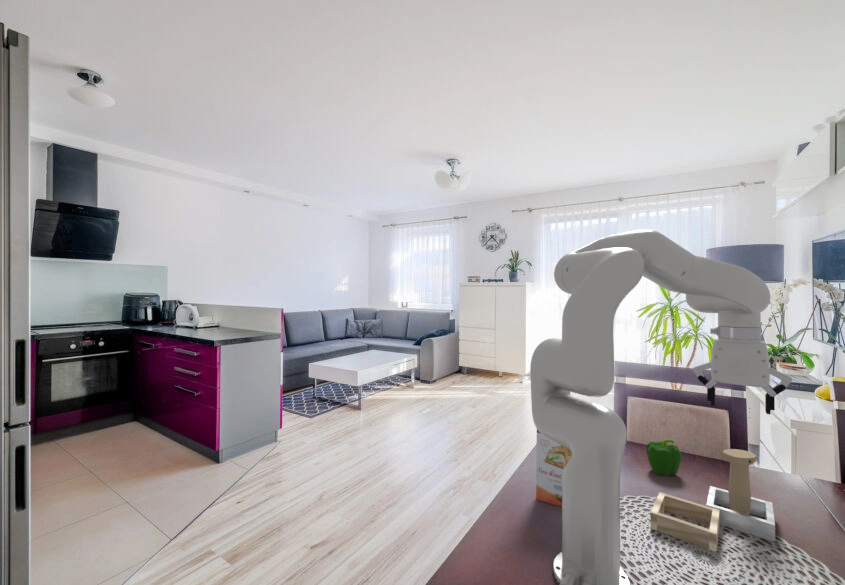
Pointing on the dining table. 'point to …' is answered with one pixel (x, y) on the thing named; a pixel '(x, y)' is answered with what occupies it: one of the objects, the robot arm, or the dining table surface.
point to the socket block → (744, 515)
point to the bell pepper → (664, 457)
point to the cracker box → (550, 469)
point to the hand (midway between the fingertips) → (739, 408)
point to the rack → (683, 528)
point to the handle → (739, 479)
